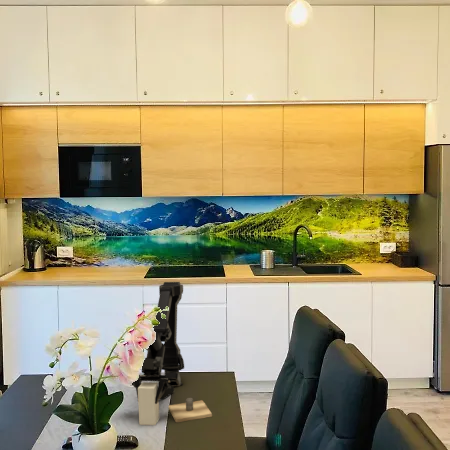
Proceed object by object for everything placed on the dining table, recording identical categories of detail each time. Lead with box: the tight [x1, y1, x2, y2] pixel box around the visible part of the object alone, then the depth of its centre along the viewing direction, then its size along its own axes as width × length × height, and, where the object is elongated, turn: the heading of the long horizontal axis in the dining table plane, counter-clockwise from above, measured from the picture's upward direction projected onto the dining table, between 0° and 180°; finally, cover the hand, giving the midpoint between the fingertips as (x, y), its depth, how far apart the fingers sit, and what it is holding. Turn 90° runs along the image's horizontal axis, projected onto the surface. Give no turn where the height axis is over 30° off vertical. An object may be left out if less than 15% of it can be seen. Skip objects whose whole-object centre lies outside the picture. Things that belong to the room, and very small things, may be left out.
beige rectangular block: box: [137, 381, 160, 426], centre depth 176 cm, size 5×5×12 cm
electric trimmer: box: [160, 386, 175, 400], centre depth 194 cm, size 4×16×3 cm, turn 144°
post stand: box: [168, 397, 213, 423], centre depth 182 cm, size 12×12×4 cm
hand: (147, 403), depth 174 cm, fingers closed on beige rectangular block, 5 cm apart
